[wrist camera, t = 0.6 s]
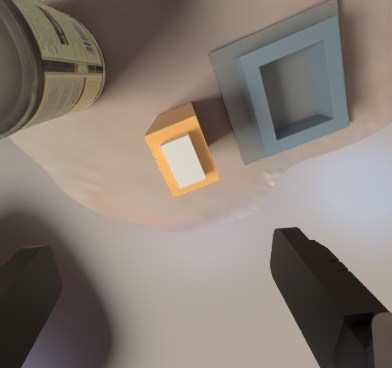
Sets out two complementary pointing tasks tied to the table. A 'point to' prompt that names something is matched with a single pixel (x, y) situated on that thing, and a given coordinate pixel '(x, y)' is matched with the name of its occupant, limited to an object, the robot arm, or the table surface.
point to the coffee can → (44, 65)
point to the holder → (284, 83)
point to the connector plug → (181, 150)
